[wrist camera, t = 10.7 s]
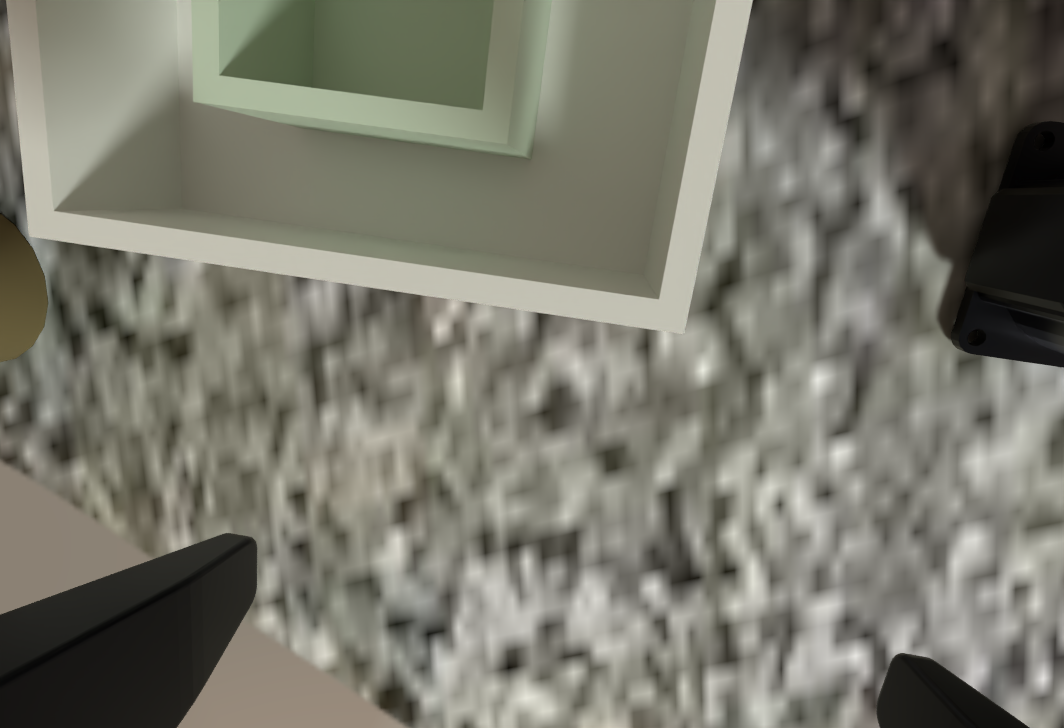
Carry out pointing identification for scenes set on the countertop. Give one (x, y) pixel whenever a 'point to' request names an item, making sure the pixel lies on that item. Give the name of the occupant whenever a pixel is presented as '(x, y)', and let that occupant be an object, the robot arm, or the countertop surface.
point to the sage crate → (379, 67)
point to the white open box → (392, 163)
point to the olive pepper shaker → (19, 293)
